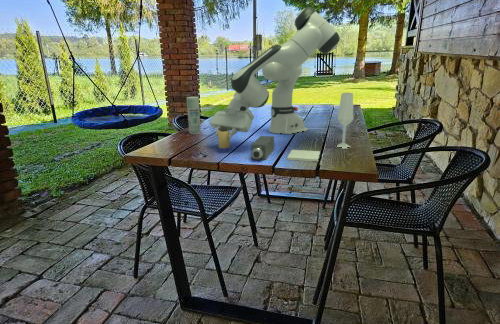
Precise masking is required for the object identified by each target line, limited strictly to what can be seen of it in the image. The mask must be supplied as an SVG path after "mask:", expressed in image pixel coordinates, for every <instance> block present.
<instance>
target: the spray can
mask: <svg viewBox="0 0 500 324" xmlns="http://www.w3.org/2000/svg"><path fill="white" fill-rule="evenodd" d="M199 99H200V98H199V96H187V97H186V109H187V119H188V121H187V122H188V132H189V134H190V135H199V134H201V120H200V117H201V116H200V100H199Z"/></svg>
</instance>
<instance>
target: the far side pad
mask: <svg viewBox="0 0 500 324" xmlns="http://www.w3.org/2000/svg"><path fill="white" fill-rule="evenodd" d="M319 155H320V156H321V151H319V150H301V149H291V150H290V153H288V155H287V159H286V160H287V161H297V160H298V162H312V161H317V162H316V163H318V162H319V160H318V159H320V156H319Z"/></svg>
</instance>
